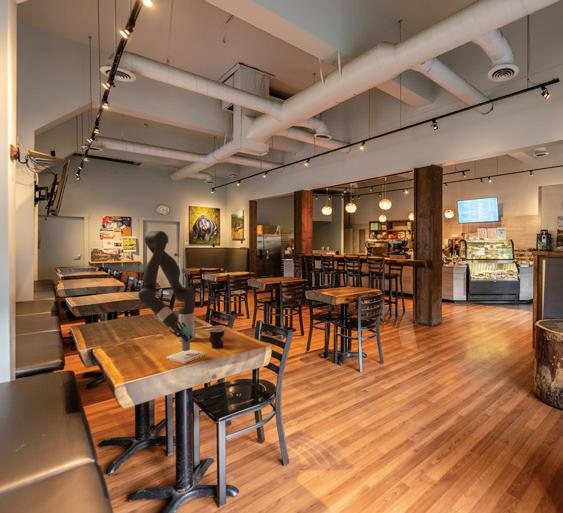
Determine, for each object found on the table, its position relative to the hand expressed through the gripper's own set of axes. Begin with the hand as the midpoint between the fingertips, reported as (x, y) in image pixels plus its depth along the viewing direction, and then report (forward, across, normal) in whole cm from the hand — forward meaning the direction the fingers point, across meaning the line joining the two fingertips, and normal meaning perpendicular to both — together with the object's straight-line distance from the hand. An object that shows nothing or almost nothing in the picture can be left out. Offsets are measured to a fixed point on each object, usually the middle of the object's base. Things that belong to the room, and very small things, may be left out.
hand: (189, 339), depth 174 cm
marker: (+3, 0, +5) cm, 6 cm away
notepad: (+5, -1, +7) cm, 9 cm away
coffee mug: (+13, +16, 0) cm, 21 cm away
